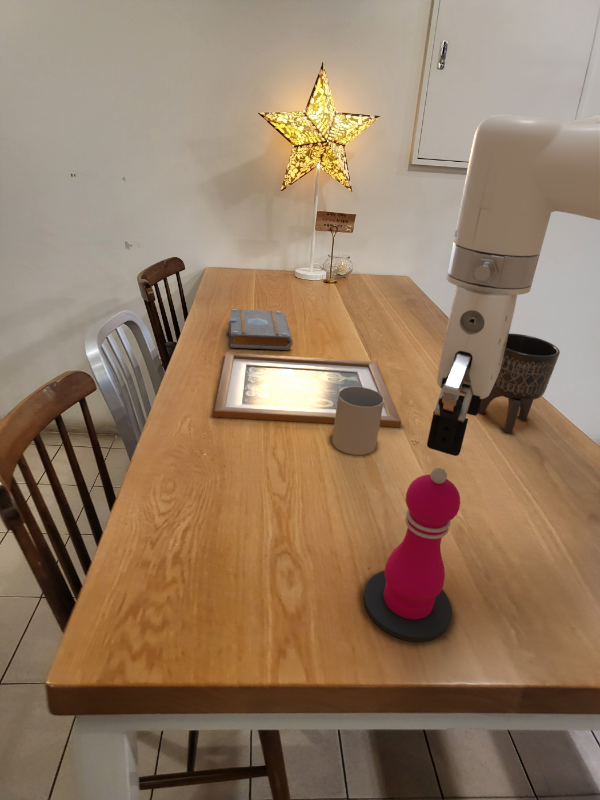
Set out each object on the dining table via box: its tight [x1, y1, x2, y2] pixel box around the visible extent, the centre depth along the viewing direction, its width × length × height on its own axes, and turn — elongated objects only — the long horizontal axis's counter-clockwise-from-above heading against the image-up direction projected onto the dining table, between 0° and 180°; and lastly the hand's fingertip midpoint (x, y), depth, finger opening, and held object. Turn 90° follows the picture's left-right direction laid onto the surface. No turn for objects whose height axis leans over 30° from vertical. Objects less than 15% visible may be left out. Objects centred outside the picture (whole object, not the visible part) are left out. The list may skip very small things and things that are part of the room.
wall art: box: [213, 351, 402, 428], centre depth 122 cm, size 31×2×38 cm
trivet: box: [363, 570, 453, 643], centre depth 68 cm, size 11×11×1 cm
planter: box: [478, 333, 561, 434], centre depth 113 cm, size 13×13×18 cm
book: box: [228, 308, 294, 351], centre depth 149 cm, size 21×16×5 cm
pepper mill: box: [384, 467, 461, 620], centre depth 64 cm, size 7×7×20 cm
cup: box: [331, 387, 384, 456], centre depth 101 cm, size 8×8×10 cm
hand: (453, 429), depth 57 cm, fingers open, 9 cm apart
